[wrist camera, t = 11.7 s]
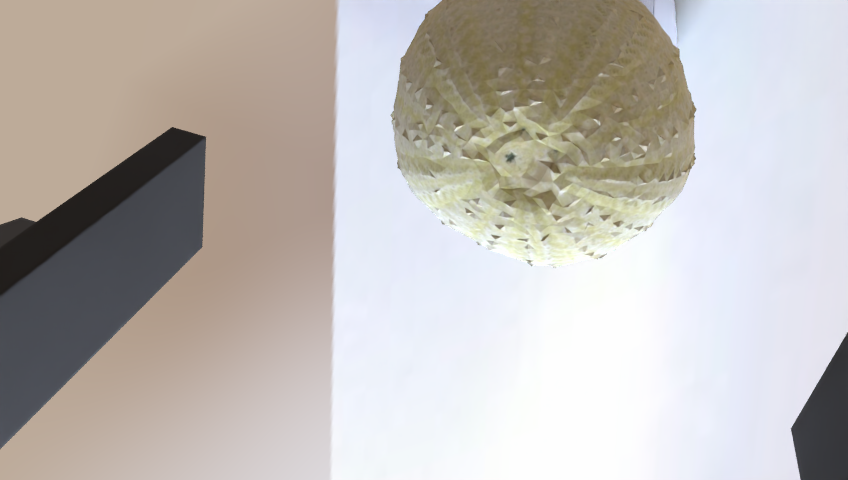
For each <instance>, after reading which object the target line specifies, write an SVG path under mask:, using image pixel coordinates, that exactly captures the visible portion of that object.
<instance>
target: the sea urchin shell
mask: <svg viewBox="0 0 848 480" xmlns="http://www.w3.org/2000/svg"><path fill="white" fill-rule="evenodd" d="M695 111H696V108H695V106H694V103H693V102H692V99H691V93H690V92H689V90H688V87H687V83H686V79H685V75H684V70H683V65H682V63H681V61H680V58H679V49H678V48H677V47H676V46H674V45H673V44H672V41H671V38H670V36H668V35H667V33H666V32H665V31H664V30H663V28H662V27H661V25H660V24H659V22H658V21H657V19H656V18H655V16H654V15H653V14H652V13H651V12H650V11H649V10H648V8H647V7H646V6H645V5H644V4H643V3H642V2H640V1H639V0H442V1H441V2H440V3H439V4H438V5H437V6H436V7H435V8H433V9H431V10H430V11H429V12H428V13H427V14H425V20H424V21H423V22H422V24H421V25H420V26H419V28H418V31H417V33H416V35H415V37H414V39H413V41H412V42H411V44H410V46H409V48H408V49H407V52H406V54H405V55H404V56H403V57H402V58H401V64H400V74H399V81H398V88H397V94H396V99H395V103H394V111H393V113H392V114H391V117H392V119H393V120H392V124H393V130H394V133H395V137H394V139H395V147H396V152H397V157H398V162H397V164H398V168H399V169H400V170H401V172H402V175H403V176H404V177H405V179H406V181H407V183H408V185H409V187H410V189H411V191H412V192H413V193H414V194H415V196H416V197H417V198H418V199H419V200H420V201H421V202H422V203H424V204H425V205H426V206H427V207H428V208H429V209H430V210H431V211H432V212H433V213H434V214H435V215H436V216H437V217H438V218H439V219H440V220H441V222H442V224H445V225H446V226H449V227H450V228H452V229H454V230H456V231H458V232H460V233H461V234H463V235H465V236H467V237H469V238H471V239H473V240H475V241H476V242H477V244H478V245H483V246H484V247H485V248H486V249H488V250H490V251H494V252H498V253H501V254H503V255H506V256H509V257H512V258H516V259H518V260H520V261H524V262H527V263H529V264H530V265H531V266H536V265H542V266H552V267H554V268H557V267H559V266H563V265H567V264H572V263H576V262H580V261H584V260H588V259H598V258H602V257H603V256H605V255H606V254H607V253H609V252H611V251H614V250H616V249H617V248H618V247H619V246H620V245H621V244H623V243H625V242H626V241H628V240H630V239H632V238H633V237H635V236H637V235H638V234H639V233H641V232H643V231H646V230H647V228H649V227H651V226H652V224H653V222H654V220H655V219H656V218H657V217H658V216H659V215H660V214H661V212H662V211H664V210H665V209H666V208H667V207H668V206H669V205H670V204H671V203H672V202H673V201H674V200H675V199H676V198H677V196H678V195H679V194H680V193H681V191H682V190H683V187H684V185H685V183H686V180H687V178H688V175H689V172H690V169H691V168H692V166H693V165H694V164H695V163H694V160H695V159H696V158H695V156H694V154H695V153H694V149H695V145H694V117H695V116H694V113H695Z"/></svg>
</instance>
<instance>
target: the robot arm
mask: <svg viewBox="0 0 848 480" xmlns="http://www.w3.org/2000/svg"><path fill="white" fill-rule="evenodd" d="M205 149H206V137H205V136H201V135H198V134H194V133H191V132H187V131H184V130H180V129H176V128H173V127H172V128H170V129H169V130H167V131H166V132H165V133H163V134H162V135H161V136H159V137H157V138H156V139H155V140H153V141H152V142H150V143H149V144H147V145H146V146H145V147H143V148H142V149H140V150H139V151H137V152H136V153H134V154H133V155H132V156H130V157H129V158H127V159H126V160H125V161H123V162H122V163H120V164H119V165H117V166H116V167H115V168H113V169H112V170H110V171H109V172H107V173H106V174H105V175H103V176H102V177H100V178H99V179H97V180H96V181H95V182H93V183H92V184H90V185H89V186H88V187H86V188H84V189H83V190H82V191H80V192H79V193H77V194H76V195H74V196H73V197H72V198H70V199H69V200H67V201H66V202H64V203H63V204H62V205H60V206H59V207H57V208H56V209H54V210H53V211H52V212H50V213H49V214H47V215H46V216H44V217H43V218H42V219H40V220H39V221H37V222H34V221H31V220H28V219H25V218H19V219H16V220H13V221H10V222H7V223H4V224H1V225H0V448H2V447H3V446H4V445H5V444H6V443H7V442H8V441H9V440H10V439H11V438H12V437H13V436H14V435H15V434H16V433H17V432H18V431H19V430H20V429H21V428H22V427H23V426H24V425H25V424H26V423H27V422H28V421H29V420H30V419H31V418H32V416H34V415H35V414H36V413H37V412H38V411H39V410H40V409H41V408H42V407H43V405H45V404H46V403H47V402H48V401H49V400H50V399H51V398H52V397H53V396H54V395H55V394H56V393H57V392H58V391H59V390H60V389H61V388H62V387H63V386H64V385H65V384H66V383H67V381H69V380H70V379H71V378H72V377H73V376H74V375H75V374H76V373H77V372H78V370H80V369H81V368H82V367H83V366H84V365H85V364H86V363H87V362H88V361H89V360H90V359H91V358H92V357H93V356H94V355H95V354H96V353H97V352H98V351H99V350H100V349H101V348H102V347H103V346H104V345H105V344H106V342H108V341H109V340H110V339H111V338H112V337H113V336H114V335H115V334H116V333H117V332H118V331H119V330H120V329H121V327H123V326H124V325H125V324H126V323H127V321H129V320H130V319H131V318H132V317H133V316H134V315H135V314H136V313H137V312H138V311H139V310H140V309H141V308H142V307H143V306H144V305H145V304H146V303H147V302H148V301H149V300H150V298H152V297H153V296H154V295H155V294H156V293H157V292H158V291H159V290H160V289H161V288H162V287H163V286H164V285H165V284H166V283H167V282H168V280H170V279H171V278H172V277H173V276H174V275H175V274H176V273H177V272H178V271H179V270H180V268H182V266H183V265H185V263H187V262H188V260H190V259H191V257H193V256H194V255H195V254H196V253H197V251H198V250H200V249H201V248H202V237H203V208H204V177H205ZM791 431H792V436H793V441H794V447H795V452H796V457H797V463H798V468H799V473H800V478H801V480H848V333H847V334H846V336H845V338H844V340H843V341H842V343H841V345H840V346H839V348H838V350H837V351H836V353H835V355H834V357H833V358H832V360H831V362H830V363H829V365H828V367H827V368H826V370H825V372H824V374H823V375H822V377H821V379H820V380H819V382H818V384H817V385H816V387H815V389H814V391H813V392H812V394H811V396H810V397H809V399H808V401H807V402H806V404H805V406H804V407H803V409H802V411H801V413H800V414H799V416H798V418H797V419H796V421H795V423H794V424H793V426H792V428H791Z"/></svg>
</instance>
